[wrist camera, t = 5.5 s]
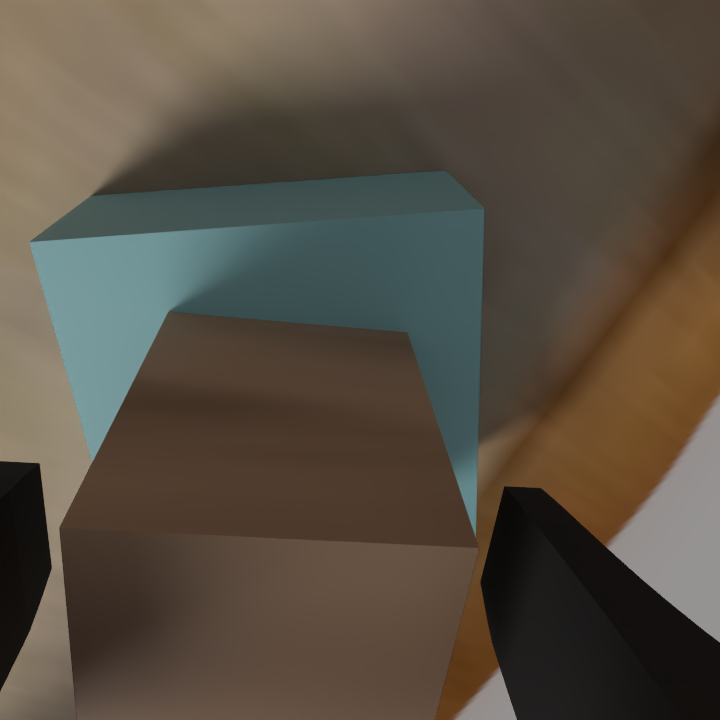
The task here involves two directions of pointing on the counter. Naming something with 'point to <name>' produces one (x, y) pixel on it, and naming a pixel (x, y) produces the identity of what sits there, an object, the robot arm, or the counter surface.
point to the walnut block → (267, 532)
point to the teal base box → (274, 280)
